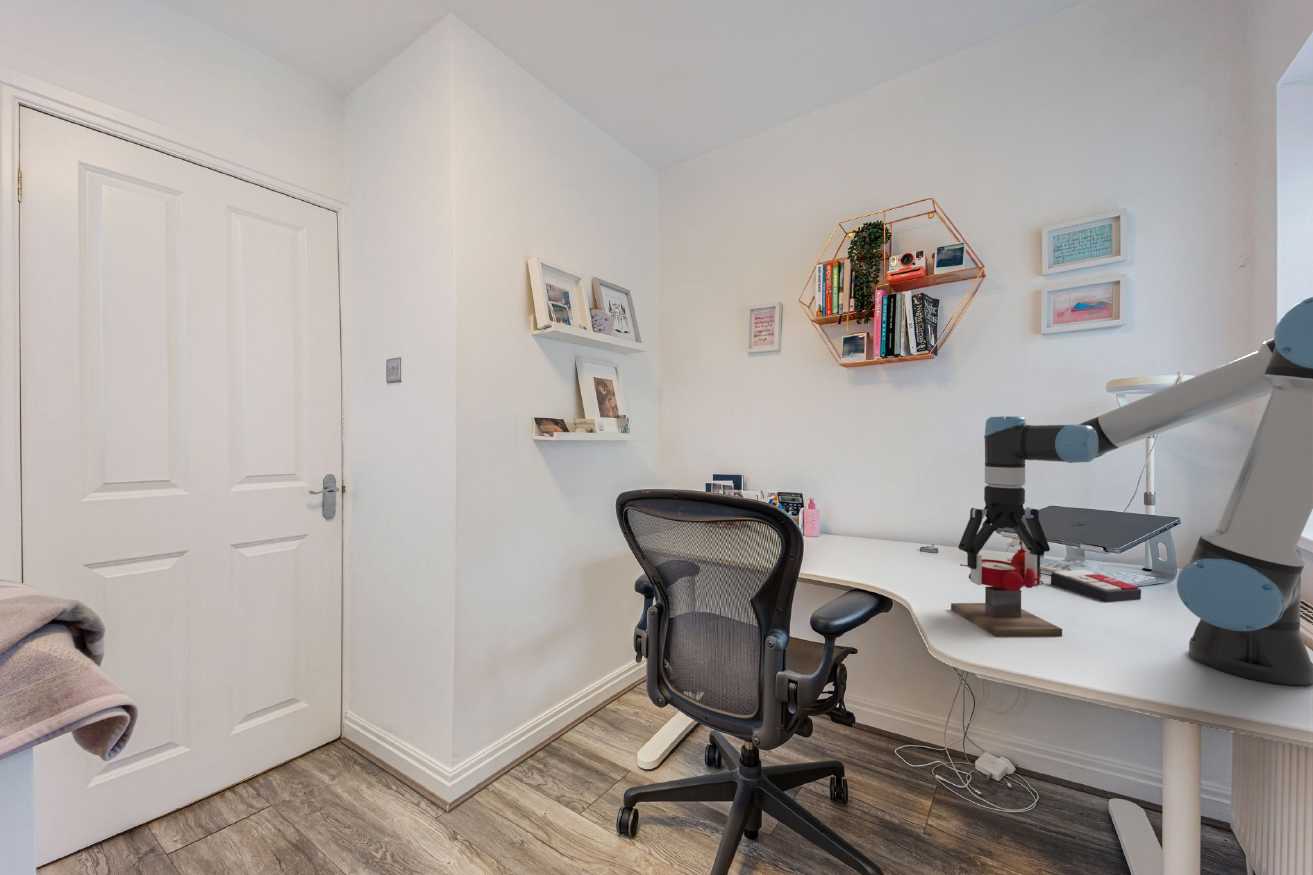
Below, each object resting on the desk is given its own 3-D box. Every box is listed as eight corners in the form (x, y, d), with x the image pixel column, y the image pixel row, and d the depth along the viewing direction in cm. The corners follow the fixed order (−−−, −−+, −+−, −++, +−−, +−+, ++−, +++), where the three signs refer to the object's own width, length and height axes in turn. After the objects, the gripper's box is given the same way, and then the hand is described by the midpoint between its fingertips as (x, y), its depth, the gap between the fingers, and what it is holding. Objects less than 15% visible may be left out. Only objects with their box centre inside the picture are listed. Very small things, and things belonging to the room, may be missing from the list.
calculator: (1106, 589, 129) (1050, 569, 143) (1105, 606, 129) (1049, 584, 144) (1142, 586, 131) (1083, 567, 145) (1141, 603, 131) (1082, 582, 146)
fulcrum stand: (1062, 635, 108) (1062, 600, 108) (995, 636, 108) (995, 600, 108) (1009, 608, 124) (1009, 577, 124) (951, 609, 124) (951, 578, 124)
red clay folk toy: (1047, 585, 142) (1048, 531, 142) (1024, 586, 141) (1025, 532, 141) (1024, 577, 150) (1025, 525, 150) (1002, 578, 149) (1003, 526, 149)
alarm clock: (982, 557, 126) (1049, 557, 112) (988, 584, 124) (1056, 587, 111) (953, 562, 121) (1019, 562, 108) (959, 589, 120) (1026, 593, 107)
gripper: (1044, 483, 120) (1043, 577, 120) (941, 484, 119) (940, 578, 120) (1071, 487, 112) (1070, 587, 112) (960, 488, 112) (960, 588, 112)
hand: (1003, 583), depth 116 cm, fingers closed on alarm clock, 12 cm apart
